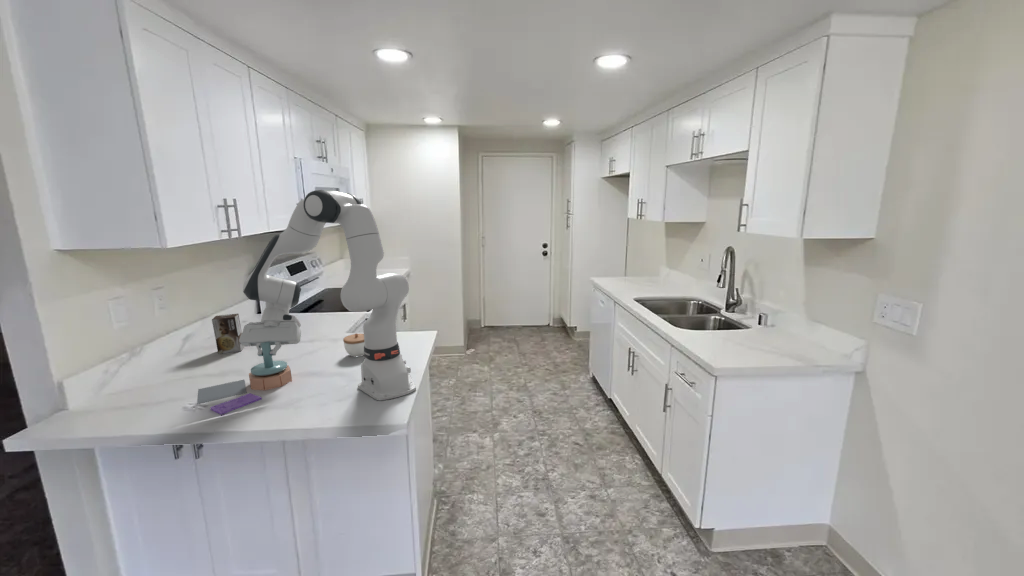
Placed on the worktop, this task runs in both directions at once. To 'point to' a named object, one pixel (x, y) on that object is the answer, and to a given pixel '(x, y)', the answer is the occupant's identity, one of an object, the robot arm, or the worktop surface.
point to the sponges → (235, 403)
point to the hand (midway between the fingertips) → (266, 355)
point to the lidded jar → (354, 344)
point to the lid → (268, 363)
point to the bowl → (270, 380)
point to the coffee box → (227, 333)
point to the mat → (221, 391)
